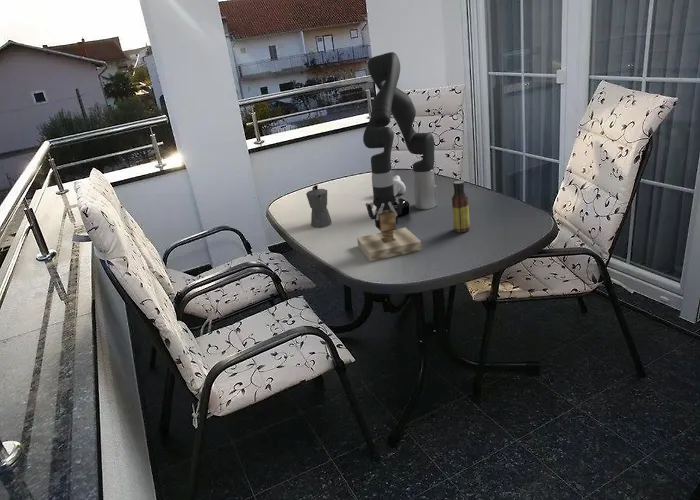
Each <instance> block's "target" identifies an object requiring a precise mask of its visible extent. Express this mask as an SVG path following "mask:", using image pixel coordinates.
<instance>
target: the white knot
mask: <svg viewBox="0 0 700 500" xmlns="http://www.w3.org/2000/svg"><path fill="white" fill-rule="evenodd" d="M393 187H394V196H395V197H396V196H397V195H398V194H399V195H403V194H405V193H406V190H407V187H406V185H405V183H404V182H403V181H402V180H401V177H400V176H399V175H394V176H393Z"/></svg>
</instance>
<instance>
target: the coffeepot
mask: <svg viewBox="0 0 700 500" xmlns="http://www.w3.org/2000/svg"><path fill="white" fill-rule="evenodd" d="M305 194H306V199H307V202H308V204H309V207H310V208H311V213H310V214H311V215H310V216H311V218H310V219H311V221H310V222H311V223H310V225H311V227H313V228H315V229H317V228H318V229H320V228H326V227H329V226H330V225H331V224H332V223H333V222H332V218H331V216H330V212H329V209H328V208H327V206H328V189H325V188H318V185H317V184H316V185H314V186H312V189H311V190H308V191H307V192H306V193H305Z"/></svg>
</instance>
